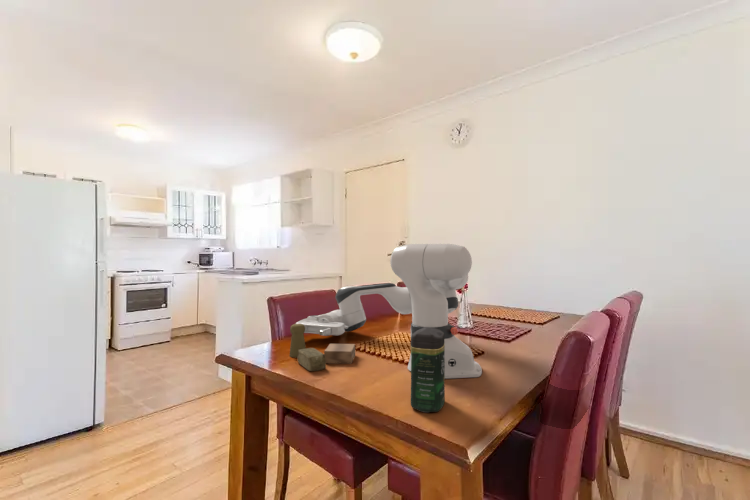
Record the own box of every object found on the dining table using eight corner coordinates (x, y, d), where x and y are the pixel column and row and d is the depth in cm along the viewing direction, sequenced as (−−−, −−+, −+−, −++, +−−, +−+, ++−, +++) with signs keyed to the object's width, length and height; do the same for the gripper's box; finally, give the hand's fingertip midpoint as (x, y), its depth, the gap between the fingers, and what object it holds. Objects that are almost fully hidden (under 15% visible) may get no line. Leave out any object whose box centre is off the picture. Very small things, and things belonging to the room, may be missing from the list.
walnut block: (355, 355, 131) (355, 344, 131) (351, 363, 122) (351, 351, 122) (330, 354, 132) (330, 343, 132) (324, 363, 123) (324, 351, 123)
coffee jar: (441, 416, 85) (440, 335, 84) (407, 411, 87) (406, 332, 87) (447, 399, 94) (447, 325, 93) (417, 395, 96) (416, 323, 96)
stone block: (310, 373, 114) (309, 357, 114) (296, 363, 124) (296, 348, 123) (327, 369, 117) (327, 353, 117) (312, 360, 127) (312, 345, 127)
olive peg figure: (310, 354, 133) (309, 323, 133) (298, 358, 128) (297, 326, 128) (297, 351, 136) (297, 321, 136) (285, 355, 131) (285, 324, 131)
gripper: (350, 334, 150) (335, 342, 137) (306, 330, 158) (287, 338, 145) (350, 318, 150) (334, 325, 137) (305, 315, 157) (287, 322, 144)
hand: (310, 332), depth 141 cm, fingers open, 8 cm apart
